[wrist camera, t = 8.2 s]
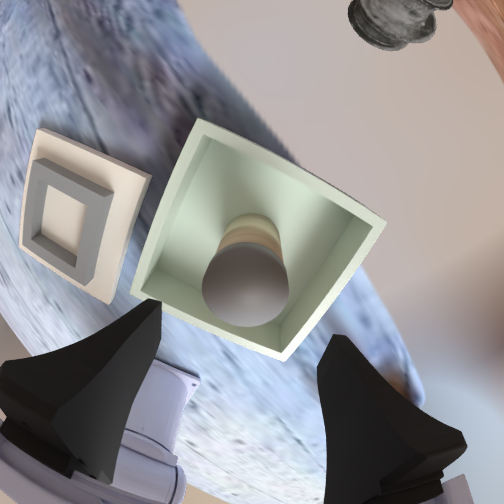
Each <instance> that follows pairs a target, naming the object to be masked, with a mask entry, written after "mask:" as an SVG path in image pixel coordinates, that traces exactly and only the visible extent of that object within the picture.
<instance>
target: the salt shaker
mask: <svg viewBox="0 0 504 504" xmlns="http://www.w3.org/2000/svg"><path fill="white" fill-rule="evenodd" d="M452 4H453V0H353V1H352V2H351V3H350V5H349V7H348V17H349V21H350V23H351V25H352V27H353V29H354V30H355V31H356V32H357V34H358V35H359V36H360V37H361V38H363V39H364V40H365V41H366V42H368V43H369V44H371V45H373V46H374V47H377V48H379V49H382V50H387V51H397V50H400V49H403V48H405V47H406V45H408V43H409V42H411V43H423V42H425V41H427V40H430V39H431V38H432V37H433V35H434V34H435V31H436V18H435V15H434V12H433V11H435V10H447V9H450V7H452Z"/></svg>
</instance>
